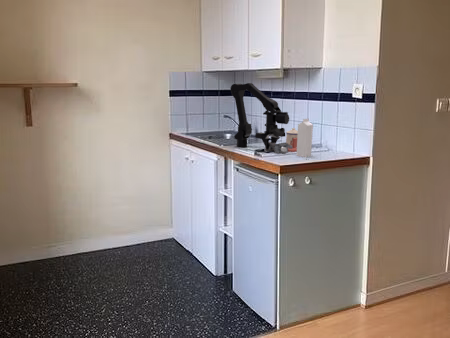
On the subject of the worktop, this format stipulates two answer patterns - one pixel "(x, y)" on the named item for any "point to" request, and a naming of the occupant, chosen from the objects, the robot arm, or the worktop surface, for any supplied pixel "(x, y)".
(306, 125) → the milk
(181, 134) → the worktop surface
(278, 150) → the eye post
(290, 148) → the handwheel
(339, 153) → the worktop surface
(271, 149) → the grey rod with block
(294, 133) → the teacup with lid
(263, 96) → the robot arm
